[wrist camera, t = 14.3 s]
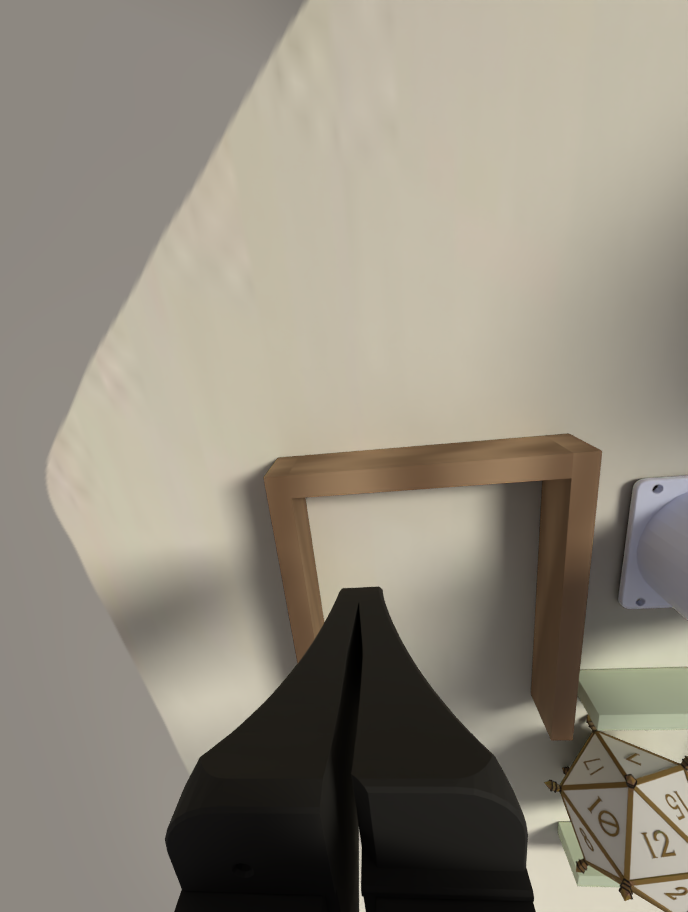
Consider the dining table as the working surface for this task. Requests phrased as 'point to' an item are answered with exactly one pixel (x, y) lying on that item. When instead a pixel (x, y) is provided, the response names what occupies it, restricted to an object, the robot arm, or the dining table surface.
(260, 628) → the dining table surface
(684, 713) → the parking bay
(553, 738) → the wooden arch frame
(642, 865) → the game die
